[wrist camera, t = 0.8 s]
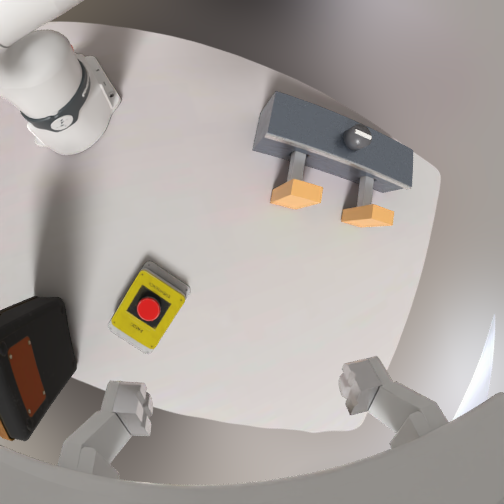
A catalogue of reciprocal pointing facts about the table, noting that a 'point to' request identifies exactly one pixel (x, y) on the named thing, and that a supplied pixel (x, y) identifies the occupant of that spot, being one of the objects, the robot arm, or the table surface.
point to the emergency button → (148, 307)
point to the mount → (330, 144)
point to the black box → (32, 363)
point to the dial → (357, 137)
